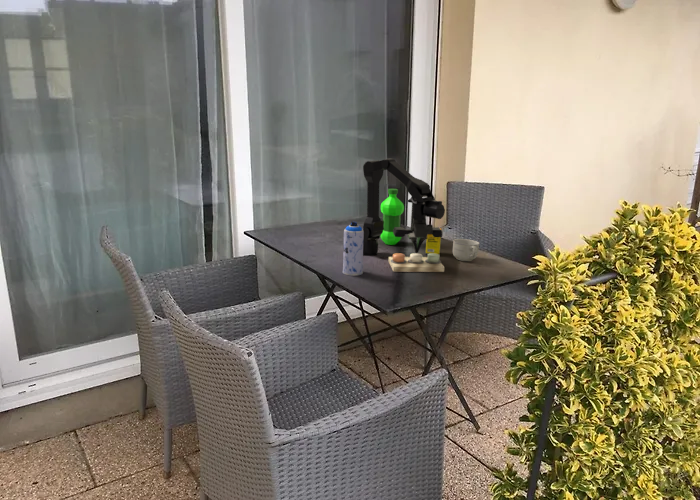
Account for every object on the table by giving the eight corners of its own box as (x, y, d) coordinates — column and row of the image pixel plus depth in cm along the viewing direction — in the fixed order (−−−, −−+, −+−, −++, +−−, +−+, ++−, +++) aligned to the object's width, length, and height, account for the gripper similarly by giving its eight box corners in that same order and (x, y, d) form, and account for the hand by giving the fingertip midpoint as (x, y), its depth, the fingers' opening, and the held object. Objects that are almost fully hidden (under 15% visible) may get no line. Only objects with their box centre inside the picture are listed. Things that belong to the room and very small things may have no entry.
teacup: (449, 255, 258) (450, 237, 256) (473, 255, 259) (475, 237, 257) (457, 265, 244) (459, 246, 242) (483, 265, 245) (485, 246, 243)
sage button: (428, 262, 238) (428, 256, 238) (426, 258, 243) (426, 253, 242) (440, 262, 239) (440, 256, 238) (437, 259, 243) (438, 253, 243)
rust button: (393, 262, 237) (393, 256, 237) (391, 258, 242) (392, 253, 241) (405, 262, 238) (405, 256, 237) (403, 258, 242) (403, 253, 242)
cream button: (411, 262, 238) (411, 256, 237) (408, 258, 243) (409, 253, 242) (423, 262, 238) (423, 256, 238) (420, 258, 243) (421, 253, 242)
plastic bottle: (376, 244, 272) (378, 190, 266) (384, 239, 282) (386, 186, 275) (397, 247, 269) (400, 192, 262) (404, 242, 278) (407, 188, 272)
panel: (393, 271, 234) (393, 266, 233) (388, 261, 247) (388, 256, 246) (444, 271, 235) (444, 266, 235) (436, 261, 249) (437, 256, 248)
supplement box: (439, 256, 257) (440, 231, 254) (425, 255, 258) (426, 230, 255) (440, 252, 262) (441, 228, 260) (426, 251, 264) (427, 227, 261)
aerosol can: (339, 270, 233) (340, 220, 228) (358, 268, 236) (359, 219, 231) (346, 276, 226) (348, 224, 221) (365, 274, 229) (367, 223, 224)
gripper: (398, 219, 227) (396, 258, 231) (446, 219, 228) (444, 258, 233) (393, 212, 238) (392, 250, 242) (440, 213, 239) (437, 251, 243)
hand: (416, 253), depth 240 cm, fingers closed
